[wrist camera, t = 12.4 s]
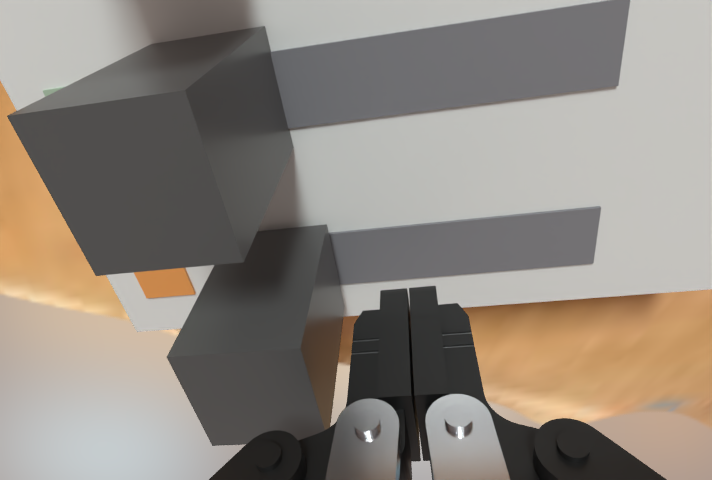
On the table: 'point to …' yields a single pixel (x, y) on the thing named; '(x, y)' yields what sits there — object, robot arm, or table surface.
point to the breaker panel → (374, 141)
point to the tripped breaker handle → (265, 339)
